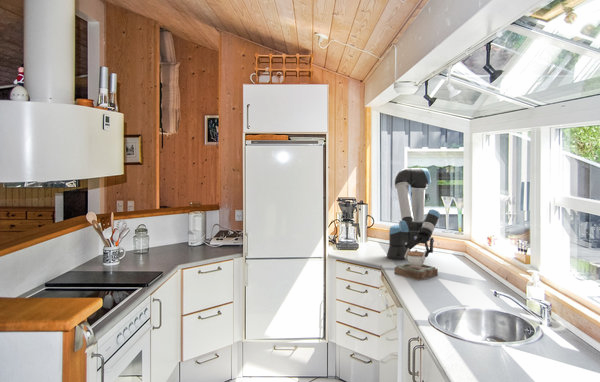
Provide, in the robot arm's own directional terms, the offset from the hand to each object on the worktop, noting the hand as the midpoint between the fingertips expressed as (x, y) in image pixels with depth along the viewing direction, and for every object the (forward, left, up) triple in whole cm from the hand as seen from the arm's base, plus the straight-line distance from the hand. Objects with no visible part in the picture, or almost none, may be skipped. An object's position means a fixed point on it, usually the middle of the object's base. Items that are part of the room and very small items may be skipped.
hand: (413, 259), depth 258 cm
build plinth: (-3, 0, -10) cm, 10 cm away
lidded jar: (-3, 0, -4) cm, 5 cm away
